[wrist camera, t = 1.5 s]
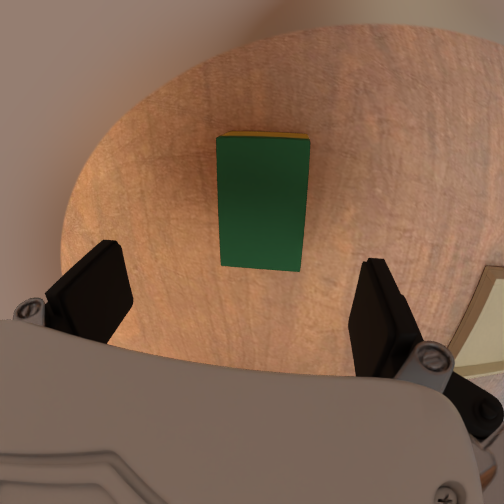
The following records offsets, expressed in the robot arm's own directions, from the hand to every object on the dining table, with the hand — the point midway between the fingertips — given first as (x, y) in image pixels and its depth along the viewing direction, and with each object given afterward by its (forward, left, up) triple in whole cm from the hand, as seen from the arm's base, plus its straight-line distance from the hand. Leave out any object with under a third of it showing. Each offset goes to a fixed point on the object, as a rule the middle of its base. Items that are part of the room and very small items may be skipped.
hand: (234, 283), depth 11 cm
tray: (+11, +28, -10) cm, 32 cm away
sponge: (0, 0, -10) cm, 10 cm away
